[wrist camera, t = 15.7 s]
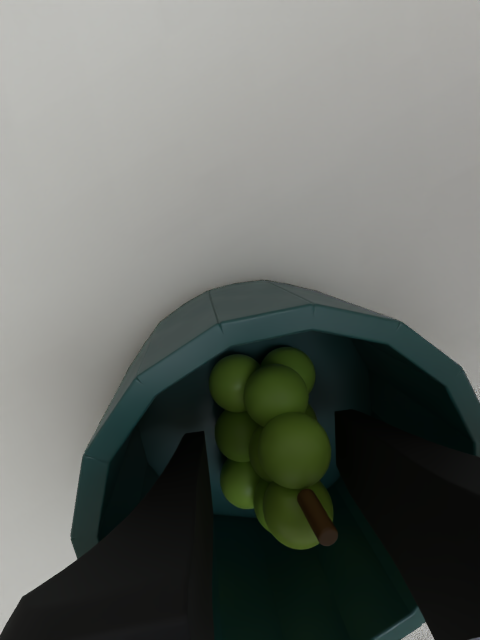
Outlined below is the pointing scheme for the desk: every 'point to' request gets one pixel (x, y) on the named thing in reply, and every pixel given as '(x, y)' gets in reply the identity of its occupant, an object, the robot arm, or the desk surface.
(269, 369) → the grapes
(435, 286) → the desk surface
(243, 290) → the pot
